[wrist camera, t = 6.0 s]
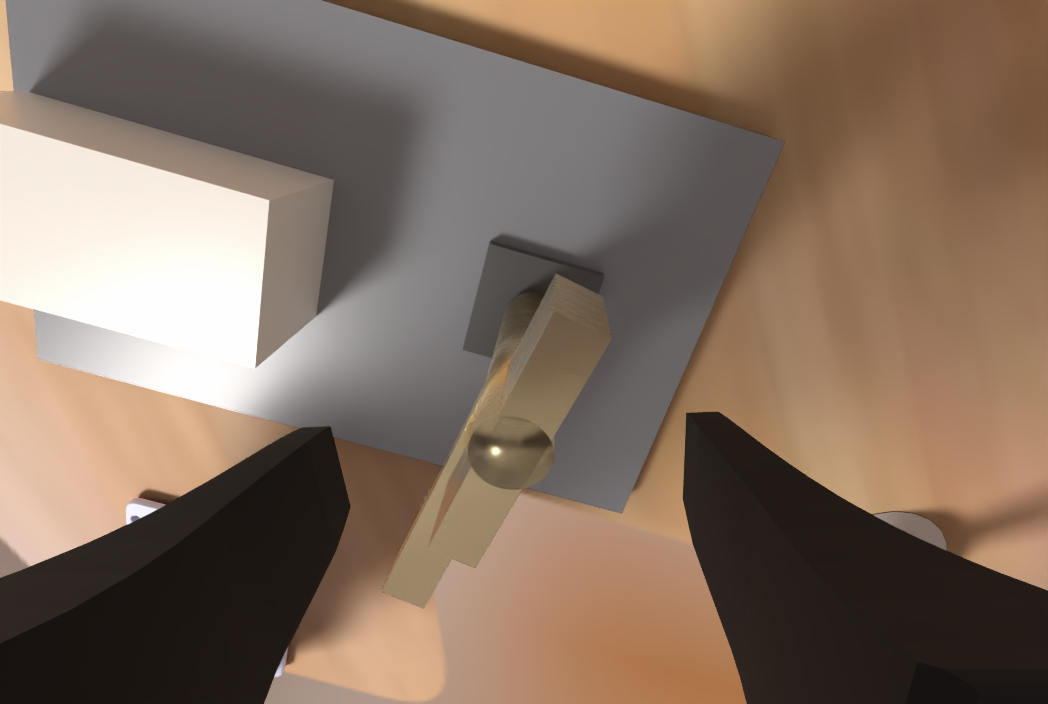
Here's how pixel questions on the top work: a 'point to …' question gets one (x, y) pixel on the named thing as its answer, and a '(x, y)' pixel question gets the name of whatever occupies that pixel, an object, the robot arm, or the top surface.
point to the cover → (156, 231)
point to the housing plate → (419, 215)
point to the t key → (504, 432)
